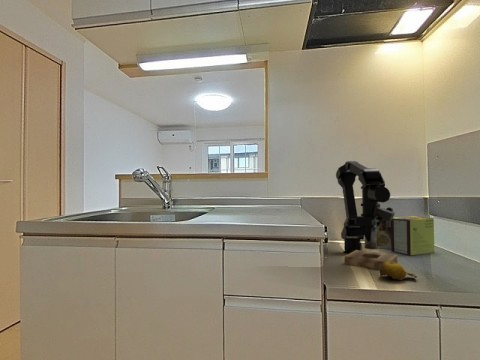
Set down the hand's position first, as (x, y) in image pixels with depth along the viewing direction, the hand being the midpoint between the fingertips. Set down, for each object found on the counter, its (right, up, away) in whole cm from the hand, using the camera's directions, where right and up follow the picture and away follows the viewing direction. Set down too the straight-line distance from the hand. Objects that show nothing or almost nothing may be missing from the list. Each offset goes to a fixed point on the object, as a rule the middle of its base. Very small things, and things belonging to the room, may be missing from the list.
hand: (370, 240), depth 121 cm
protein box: (+27, -9, +19) cm, 34 cm away
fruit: (+1, -10, -19) cm, 22 cm away
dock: (0, -9, 0) cm, 9 cm away
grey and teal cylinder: (0, -3, 0) cm, 3 cm away
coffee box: (+18, -9, +29) cm, 35 cm away
